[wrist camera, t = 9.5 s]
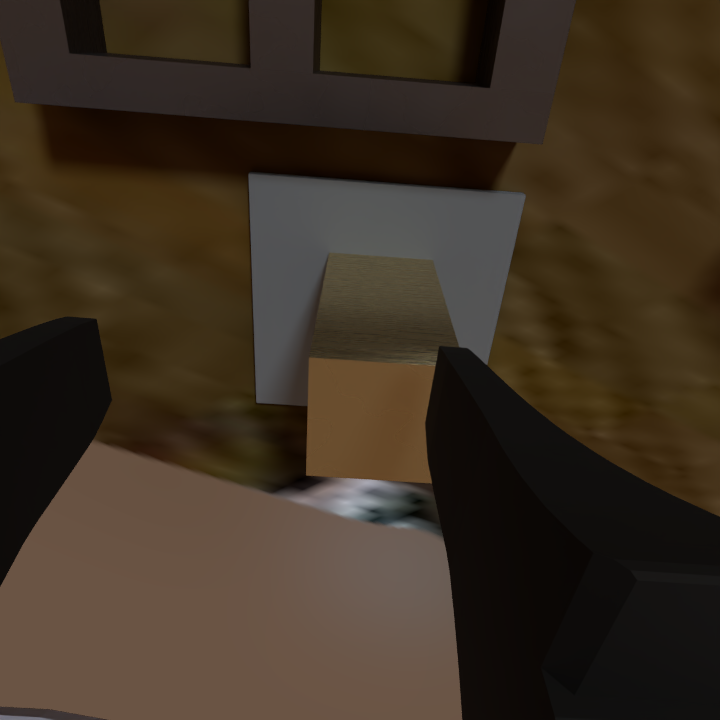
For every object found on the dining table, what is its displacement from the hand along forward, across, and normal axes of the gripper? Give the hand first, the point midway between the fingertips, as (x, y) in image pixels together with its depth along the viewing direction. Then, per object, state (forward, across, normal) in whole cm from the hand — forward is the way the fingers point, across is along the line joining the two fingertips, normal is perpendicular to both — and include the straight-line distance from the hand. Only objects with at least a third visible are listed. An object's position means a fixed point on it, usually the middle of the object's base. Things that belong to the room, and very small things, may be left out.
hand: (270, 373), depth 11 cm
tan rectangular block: (+10, -3, +3) cm, 11 cm away
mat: (+10, -3, +3) cm, 11 cm away
